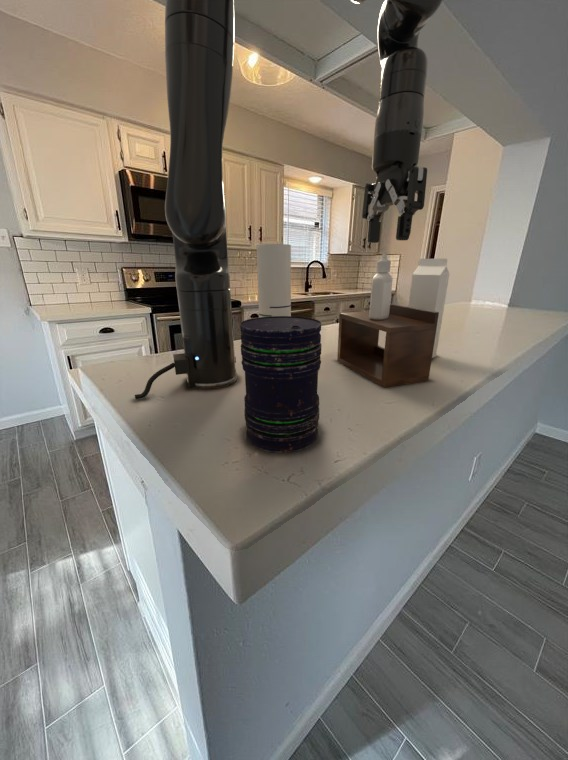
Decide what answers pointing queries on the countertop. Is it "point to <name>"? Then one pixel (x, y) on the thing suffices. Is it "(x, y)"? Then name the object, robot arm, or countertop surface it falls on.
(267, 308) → the cylindrical container
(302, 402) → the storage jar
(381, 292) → the eye dropper bottle
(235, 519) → the countertop surface
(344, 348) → the spice rack
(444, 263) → the milk
